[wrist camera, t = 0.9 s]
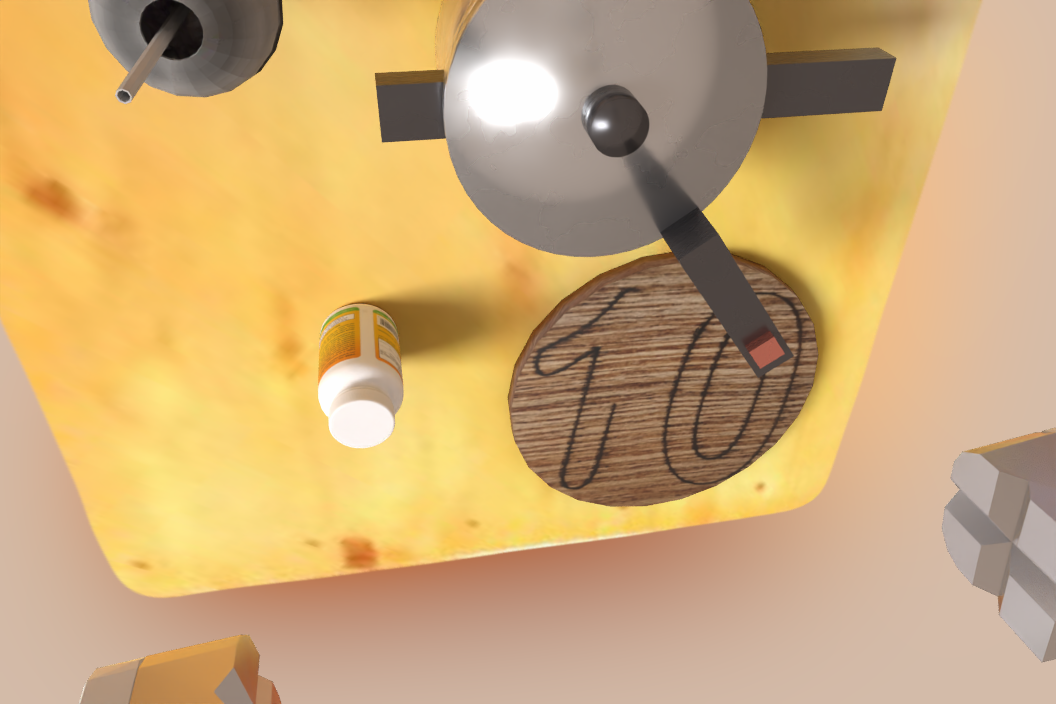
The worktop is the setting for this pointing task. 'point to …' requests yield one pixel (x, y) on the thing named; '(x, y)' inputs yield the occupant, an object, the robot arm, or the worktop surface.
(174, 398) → the worktop surface
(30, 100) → the worktop surface
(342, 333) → the supplement bottle
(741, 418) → the trivet
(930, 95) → the worktop surface
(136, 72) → the beverage cup
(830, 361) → the worktop surface
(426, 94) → the pot
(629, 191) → the lid
